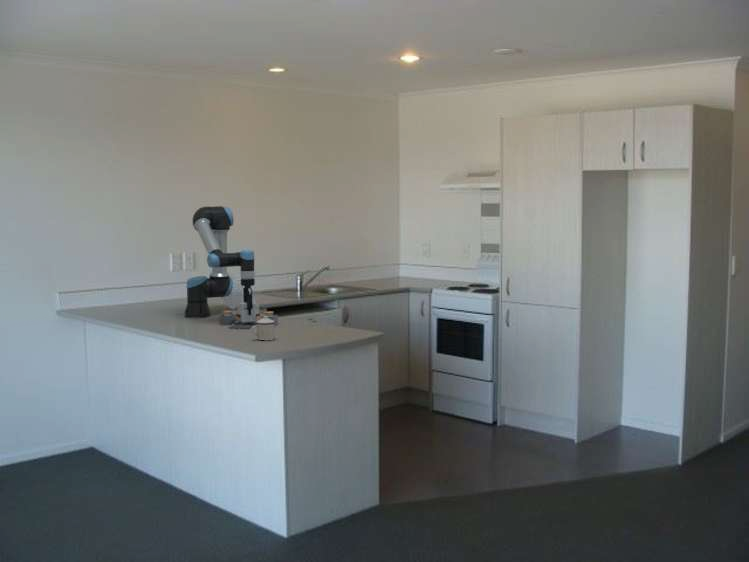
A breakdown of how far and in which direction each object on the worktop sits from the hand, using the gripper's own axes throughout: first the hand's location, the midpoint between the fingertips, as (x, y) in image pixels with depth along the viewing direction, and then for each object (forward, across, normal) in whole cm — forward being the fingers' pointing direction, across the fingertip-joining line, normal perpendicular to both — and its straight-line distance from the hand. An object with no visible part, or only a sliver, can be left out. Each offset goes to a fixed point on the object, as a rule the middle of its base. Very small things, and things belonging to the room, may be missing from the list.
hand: (248, 319), depth 450 cm
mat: (+2, -10, +6) cm, 12 cm away
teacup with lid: (+2, -51, +3) cm, 51 cm away
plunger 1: (+1, +6, +10) cm, 12 cm away
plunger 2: (+1, -6, -10) cm, 12 cm away
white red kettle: (+3, +32, -6) cm, 33 cm away
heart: (+3, +64, -3) cm, 64 cm away
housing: (+3, 0, 0) cm, 3 cm away
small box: (+1, 0, 0) cm, 1 cm away
